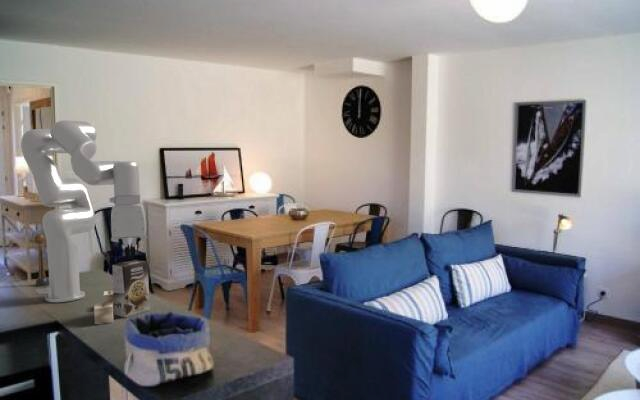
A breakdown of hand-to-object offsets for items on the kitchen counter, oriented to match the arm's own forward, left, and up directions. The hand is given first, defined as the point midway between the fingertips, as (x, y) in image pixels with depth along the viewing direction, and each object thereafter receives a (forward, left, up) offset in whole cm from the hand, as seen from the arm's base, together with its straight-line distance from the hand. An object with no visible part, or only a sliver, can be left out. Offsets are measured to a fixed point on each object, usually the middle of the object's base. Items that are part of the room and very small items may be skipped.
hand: (130, 258), depth 164 cm
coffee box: (0, 0, -18) cm, 18 cm away
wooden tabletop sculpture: (-33, +51, -18) cm, 64 cm away
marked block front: (-8, -6, -18) cm, 20 cm away
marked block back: (-6, +9, -18) cm, 21 cm away
